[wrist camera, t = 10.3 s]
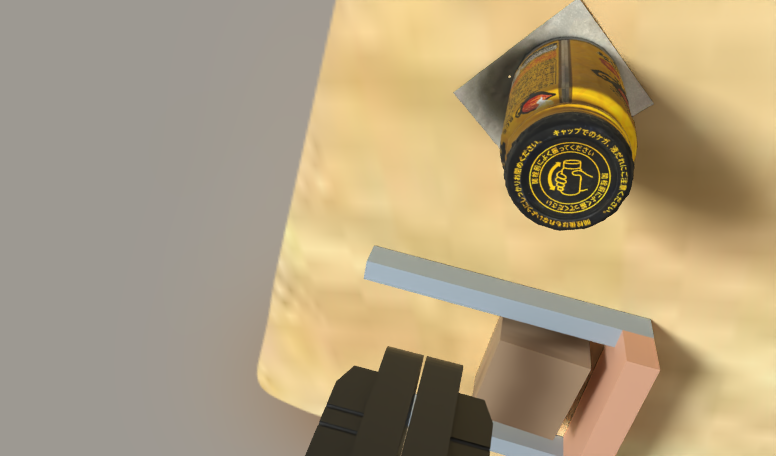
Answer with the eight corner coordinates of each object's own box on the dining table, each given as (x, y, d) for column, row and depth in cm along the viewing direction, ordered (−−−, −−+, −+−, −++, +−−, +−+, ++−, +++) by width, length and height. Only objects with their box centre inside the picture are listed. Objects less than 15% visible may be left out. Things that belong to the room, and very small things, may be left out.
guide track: (650, 319, 43) (660, 370, 39) (583, 457, 50) (585, 512, 46) (374, 245, 45) (355, 286, 41) (348, 388, 52) (329, 435, 48)
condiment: (653, 102, 36) (689, 199, 26) (526, 182, 40) (515, 293, 30) (578, -4, 35) (585, 56, 24) (453, 90, 39) (415, 175, 28)
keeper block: (588, 330, 45) (591, 369, 41) (553, 399, 49) (552, 440, 45) (504, 303, 45) (500, 340, 42) (475, 374, 49) (469, 413, 46)
